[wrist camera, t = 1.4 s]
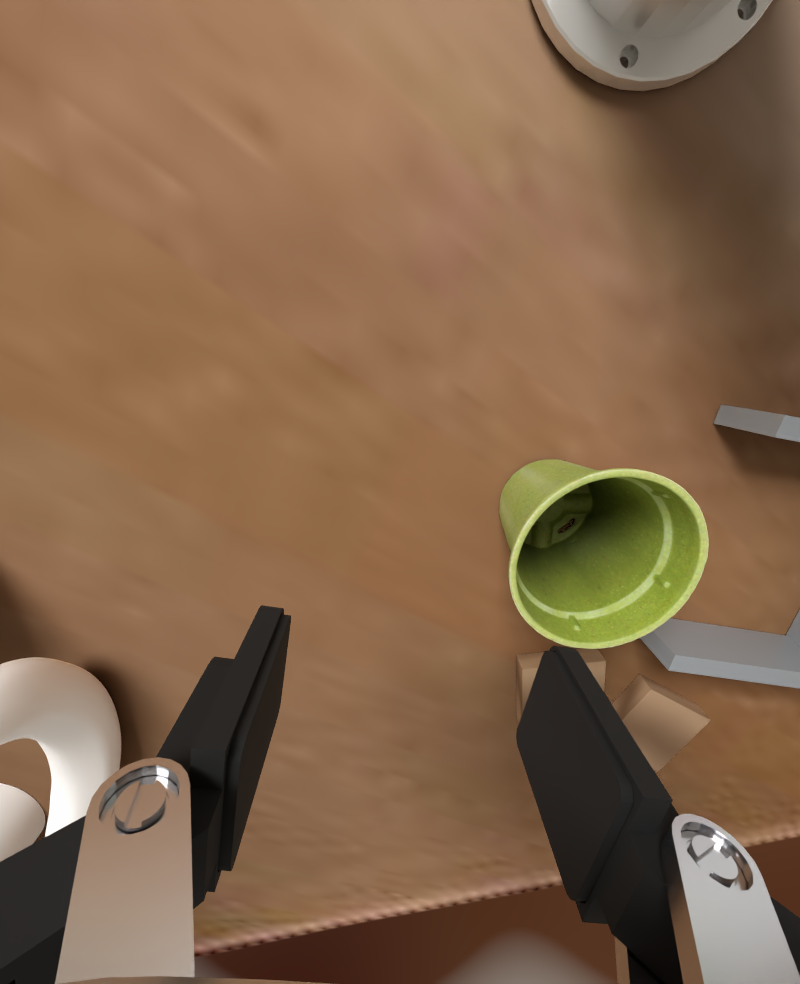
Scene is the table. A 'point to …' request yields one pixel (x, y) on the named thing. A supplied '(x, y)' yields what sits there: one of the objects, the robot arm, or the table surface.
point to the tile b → (658, 719)
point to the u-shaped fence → (727, 648)
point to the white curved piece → (62, 729)
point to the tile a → (529, 667)
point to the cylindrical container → (18, 820)
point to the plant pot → (600, 551)
